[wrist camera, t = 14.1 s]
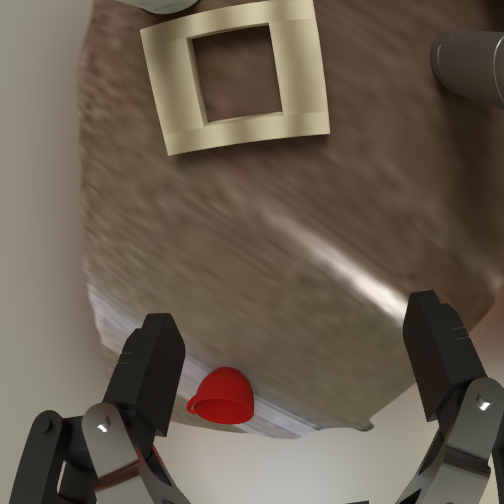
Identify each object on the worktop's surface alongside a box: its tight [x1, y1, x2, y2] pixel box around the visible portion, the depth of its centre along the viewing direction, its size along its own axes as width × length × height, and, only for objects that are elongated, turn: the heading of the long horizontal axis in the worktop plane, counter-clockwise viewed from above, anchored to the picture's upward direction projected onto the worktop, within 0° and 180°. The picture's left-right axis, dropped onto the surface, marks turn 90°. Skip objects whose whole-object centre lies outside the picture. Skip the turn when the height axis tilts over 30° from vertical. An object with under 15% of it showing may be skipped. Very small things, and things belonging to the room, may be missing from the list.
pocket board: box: [140, 0, 330, 155], centre depth 33 cm, size 20×17×3 cm
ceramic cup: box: [187, 367, 254, 424], centre depth 65 cm, size 13×17×10 cm
